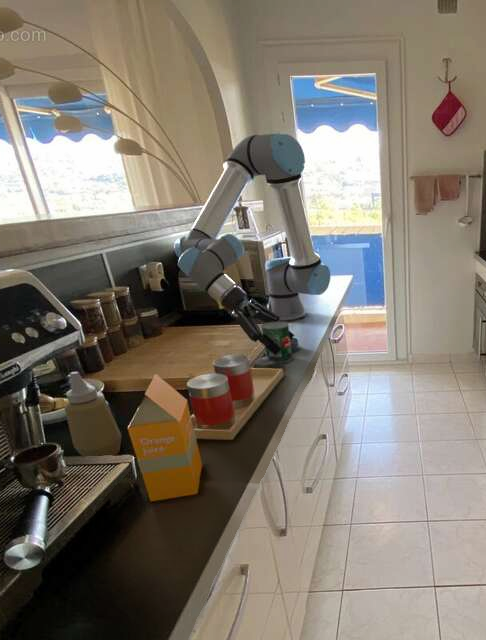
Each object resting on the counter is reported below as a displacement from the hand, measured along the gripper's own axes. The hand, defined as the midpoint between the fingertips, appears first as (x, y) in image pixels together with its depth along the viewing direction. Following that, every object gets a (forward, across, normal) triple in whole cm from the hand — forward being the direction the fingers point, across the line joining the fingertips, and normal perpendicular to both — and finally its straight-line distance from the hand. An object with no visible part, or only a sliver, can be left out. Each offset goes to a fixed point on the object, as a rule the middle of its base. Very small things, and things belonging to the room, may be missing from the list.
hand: (285, 345), depth 137 cm
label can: (+1, +44, -5) cm, 44 cm away
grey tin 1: (+2, +9, -5) cm, 10 cm away
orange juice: (+3, +64, -4) cm, 64 cm away
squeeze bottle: (-11, +56, -18) cm, 60 cm away
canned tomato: (+2, 0, -5) cm, 5 cm away
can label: (+1, +32, -5) cm, 32 cm away
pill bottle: (-16, +46, -23) cm, 54 cm away
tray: (+2, +32, -5) cm, 32 cm away
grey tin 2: (+2, -9, -5) cm, 10 cm away
